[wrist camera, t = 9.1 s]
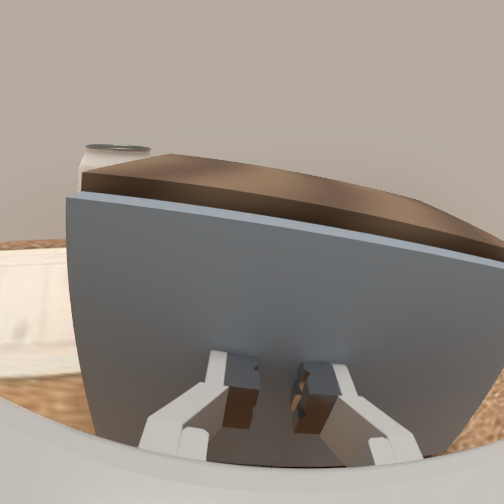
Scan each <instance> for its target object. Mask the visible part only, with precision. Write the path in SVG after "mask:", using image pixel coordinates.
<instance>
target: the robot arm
mask: <svg viewBox="0 0 504 504" xmlns="http://www.w3.org/2000/svg"><path fill="white" fill-rule="evenodd" d="M258 367H259V357H255V356H248V355H242V354H235V353H229V352H223V351H217V350H211V352H210V356H209V361H208V367H207V372H206V378H205V383H203V382H199V383H198V384H196V385H195V386H194V387H192V388H191V389H189V390H188V391H186V392H185V393H183V394H182V395H181V396H179V397H178V398H176V399H175V400H173V401H172V402H170V403H169V404H167V405H166V406H164V407H163V408H161V409H160V410H158V411H157V412H155V413H154V414H152V415H151V416H149V417H148V419H147V422H146V425H145V428H144V431H143V434H142V437H141V440H140V443H139V446H138V448H137V447H134V446H130V445H126V444H122V443H119V442H115V441H112V440H108V439H105V438H102V437H98V436H95V435H92V434H89V433H86V432H83V431H80V430H77V429H75V428H72V427H69V426H66V425H64V424H61V423H58V422H56V421H53V420H51V419H48V418H46V417H43V416H41V415H39V414H36V413H34V412H32V411H30V410H27V409H25V408H23V407H21V406H19V405H16V404H14V403H12V402H10V401H8V400H6V399H4V398H2V397H0V504H504V439H502V440H499V441H496V442H492V443H489V444H486V445H482V446H479V447H475V448H471V449H467V450H463V451H459V452H455V453H450V454H446V455H441V456H436V457H431V458H425V459H424V458H423V456H422V454H421V451H420V449H419V447H418V445H417V442H416V440H415V438H414V436H413V434H412V433H411V432H409V431H408V430H407V429H405V428H404V427H403V426H401V425H400V424H399V423H397V422H396V421H394V420H393V419H392V418H390V417H389V416H388V415H386V414H385V413H384V412H382V411H381V410H380V409H378V408H377V407H376V406H374V405H373V404H372V403H370V402H369V401H368V400H366V399H365V398H364V397H362V396H358V394H357V392H356V389H355V386H354V384H353V381H352V379H351V376H350V374H349V371H348V369H347V366H346V365H345V364H319V363H307V362H301V363H300V364H299V366H298V369H297V376H298V379H296V380H295V381H294V382H293V385H292V388H291V394H290V407H291V409H292V410H293V411H294V414H293V416H292V423H293V430H294V433H301V434H320V435H319V436H320V437H321V438H322V440H323V441H324V442H325V443H326V444H327V445H328V447H329V448H330V449H331V450H332V451H333V452H334V453H335V455H336V456H337V457H338V458H339V459H340V460H341V461H342V463H343V464H344V465H345V466H346V467H347V468H319V469H298V468H270V467H255V466H243V465H233V464H224V463H216V462H209V461H206V455H207V447H208V442H209V441H210V440H211V439H212V438H213V437H214V436H215V435H216V434H217V433H218V432H219V431H220V430H221V429H222V427H226V428H236V429H247V430H249V428H250V424H251V421H252V417H253V407H255V406H256V403H257V399H258V395H259V391H260V374H259V373H258Z"/></svg>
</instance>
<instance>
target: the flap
mask: <svg viewBox="0 0 504 504" xmlns="http://www.w3.org/2000/svg"><path fill="white" fill-rule="evenodd" d="M66 247H67V267H68V281H69V292H70V302H71V311H72V319H73V326H74V333H75V340H76V346H77V352H78V357H79V363H80V368H81V373H82V378H83V383H84V387H85V392H86V396H87V400H88V404H89V408H90V412H91V416H92V420H93V424H94V427H95V431H96V434H97V436H98V437H102V438H105V439H108V440H112V441H115V442H119V443H123V444H127V445H131V446H135V447H138V446H139V443H140V440H141V437H142V434H143V431H144V428H145V425H146V422H147V419H148V417H149V416H151V415H152V414H154V413H155V412H157V411H158V410H160V409H161V408H163V407H164V406H166V405H167V404H169V403H170V402H172V401H173V400H175V399H176V398H178V397H179V396H181V395H182V394H183V393H185V392H186V391H188V390H189V389H191V388H192V387H194V386H195V385H196V384H198V383H199V382H203V383H205V378H206V372H207V367H208V361H209V356H210V352H211V350H217V351H223V352H229V353H235V354H242V355H248V356H255V357H259V367H258V373H259V374H260V391H259V395H258V399H257V403H256V406H255V407H253V417H252V421H251V424H250V428H249V430H247V429H236V428H226V427H222V429H221V430H220V431H219V432H218V433H217V434H216V435H215V436H214V437H213V438H212V439H211V440H210V441H209V442H208V447H207V455H206V460H209V461H216V462H225V463H234V464H246V465H260V466H281V467H326V466H345V465H344V464H343V463H342V461H341V460H340V459H339V458H338V457H337V456H336V455H335V453H334V452H333V451H332V450H331V449H330V448H329V447H328V445H327V444H326V443H325V442H324V441H323V440H322V438H321V437H320V436H319V435H320V434H301V433H294V430H293V423H292V416H293V414H294V411H293V410H292V409H291V407H290V394H291V388H292V385H293V382H294V381H295V380H296V379H298V376H297V369H298V366H299V364H300V363H301V362H307V363H319V364H345V365H346V366H347V369H348V371H349V374H350V376H351V379H352V381H353V384H354V386H355V389H356V392H357V394H358V396H362V397H364V398H365V399H366V400H368V401H369V402H370V403H372V404H373V405H374V406H376V407H377V408H378V409H380V410H381V411H382V412H384V413H385V414H386V415H388V416H389V417H390V418H392V419H393V420H394V421H396V422H397V423H399V424H400V425H401V426H403V427H404V428H405V429H407V430H408V431H409V432H411V433H412V434H413V436H414V438H415V440H416V442H417V445H418V447H419V449H420V451H421V454H422V456H427V455H433V454H438V453H442V452H445V451H446V450H447V449H448V447H449V446H450V445H451V444H452V442H453V441H454V440H455V439H456V437H457V436H458V435H459V433H460V432H461V431H462V429H463V428H464V427H465V425H466V424H467V423H468V421H469V420H470V419H471V417H472V416H473V414H474V413H475V412H476V410H477V409H478V407H479V406H480V404H481V403H482V401H483V400H484V398H485V397H486V395H487V394H488V392H489V390H490V389H491V387H492V386H493V384H494V382H495V381H496V379H497V378H498V376H499V374H500V372H501V371H502V369H503V367H504V262H499V261H495V260H491V259H487V258H482V257H478V256H473V255H469V254H464V253H460V252H455V251H451V250H446V249H442V248H437V247H432V246H427V245H423V244H418V243H413V242H408V241H403V240H398V239H393V238H388V237H383V236H377V235H372V234H367V233H362V232H356V231H351V230H345V229H340V228H334V227H329V226H323V225H318V224H312V223H306V222H300V221H294V220H288V219H282V218H276V217H270V216H264V215H257V214H251V213H245V212H238V211H231V210H225V209H218V208H211V207H204V206H197V205H190V204H183V203H175V202H168V201H160V200H153V199H145V198H137V197H129V196H120V195H112V194H103V193H94V192H85V191H81V192H79V193H76V194H73V195H71V196H68V197H66Z"/></svg>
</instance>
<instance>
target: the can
mask: <svg viewBox="0 0 504 504" xmlns="http://www.w3.org/2000/svg"><path fill="white" fill-rule="evenodd" d="M86 148H87V149H86V153H85V155H84V157H83V158H82V161H81V163H80V167H79V178H78V193H79V192H81V180H82V172H85V171H89V170H93V169H97V168H101V167H106V166H110V165H115V164H120V163H124V162H129V161H134V160H139V159H145V158H150V150H151V148H148V147H142V146H131V145H111V144H95V145H94V144H93V145H86Z"/></svg>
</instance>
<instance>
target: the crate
mask: <svg viewBox="0 0 504 504" xmlns="http://www.w3.org/2000/svg"><path fill="white" fill-rule="evenodd" d="M81 191H85V192H94V193H103V194H112V195H120V196H129V197H137V198H145V199H153V200H160V201H168V202H175V203H183V204H190V205H197V206H204V207H211V208H218V209H225V210H231V211H238V212H245V213H251V214H257V215H264V216H270V217H276V218H282V219H288V220H294V221H300V222H306V223H312V224H318V225H323V226H329V227H334V228H340V229H345V230H351V231H356V232H362V233H367V234H372V235H377V236H383V237H388V238H393V239H398V240H403V241H408V242H413V243H418V244H423V245H427V246H432V247H437V248H442V249H446V250H451V251H455V252H460V253H464V254H469V255H473V256H478V257H482V258H487V259H491V260H495V261H499V262H504V241H502V240H500V239H498V238H497V237H495V236H493V235H491V234H489V233H487V232H485V231H483V230H481V229H479V228H477V227H475V226H473V225H471V224H469V223H467V222H465V221H462V220H461V219H458V218H456V217H454V216H452V215H450V214H448V213H446V212H444V211H441V210H439V209H437V208H435V207H432V206H430V205H428V204H426V203H423V202H421V201H419V200H416V199H412V198H408V197H404V196H400V195H397V194H392V193H389V192H385V191H381V190H376V189H372V188H368V187H363V186H359V185H355V184H350V183H346V182H341V181H336V180H332V179H327V178H322V177H317V176H312V175H307V174H302V173H297V172H291V171H286V170H280V169H275V168H269V167H263V166H257V165H250V164H244V163H238V162H231V161H224V160H217V159H209V158H202V157H193V156H185V155H177V154H167V155H161V156H156V157H150V158H145V159H139V160H134V161H129V162H124V163H120V164H115V165H110V166H106V167H101V168H97V169H93V170H89V171H85V172H82V180H81Z"/></svg>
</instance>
